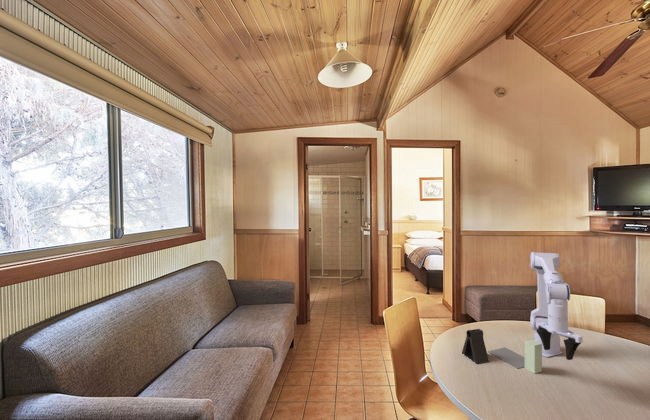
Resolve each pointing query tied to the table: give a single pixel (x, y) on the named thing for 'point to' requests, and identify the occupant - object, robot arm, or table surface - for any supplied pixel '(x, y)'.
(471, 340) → the phone stand
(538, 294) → the robot arm
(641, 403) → the table surface
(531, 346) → the sage block
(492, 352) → the mat
